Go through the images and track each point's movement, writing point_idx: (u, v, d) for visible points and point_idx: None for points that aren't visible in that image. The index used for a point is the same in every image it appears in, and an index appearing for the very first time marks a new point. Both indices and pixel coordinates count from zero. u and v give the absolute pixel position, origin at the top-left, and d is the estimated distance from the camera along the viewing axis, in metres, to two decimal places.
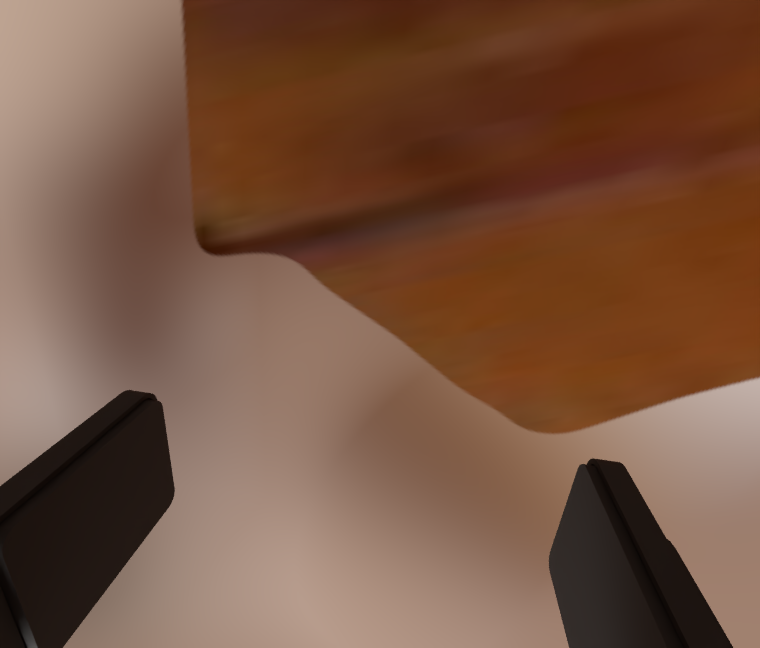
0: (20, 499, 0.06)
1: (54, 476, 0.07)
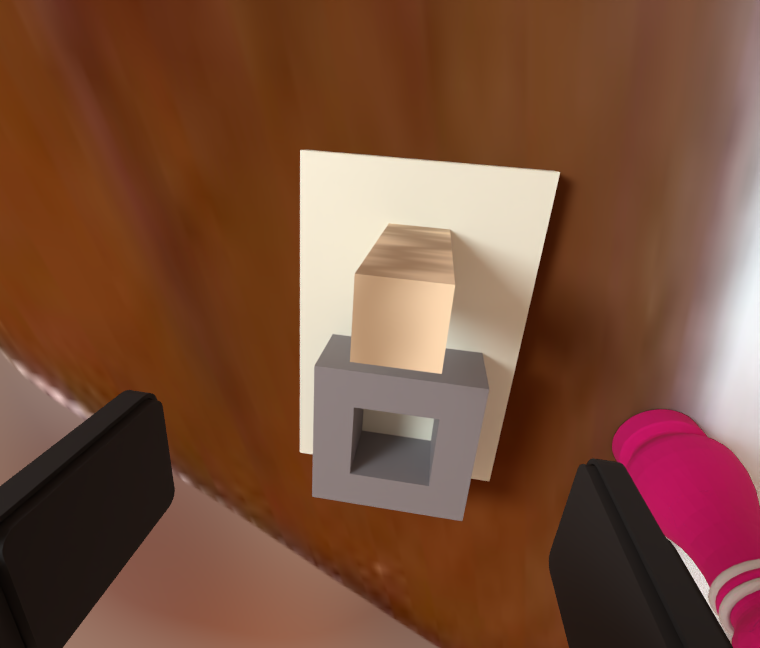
0: (20, 499, 0.06)
1: (54, 476, 0.07)
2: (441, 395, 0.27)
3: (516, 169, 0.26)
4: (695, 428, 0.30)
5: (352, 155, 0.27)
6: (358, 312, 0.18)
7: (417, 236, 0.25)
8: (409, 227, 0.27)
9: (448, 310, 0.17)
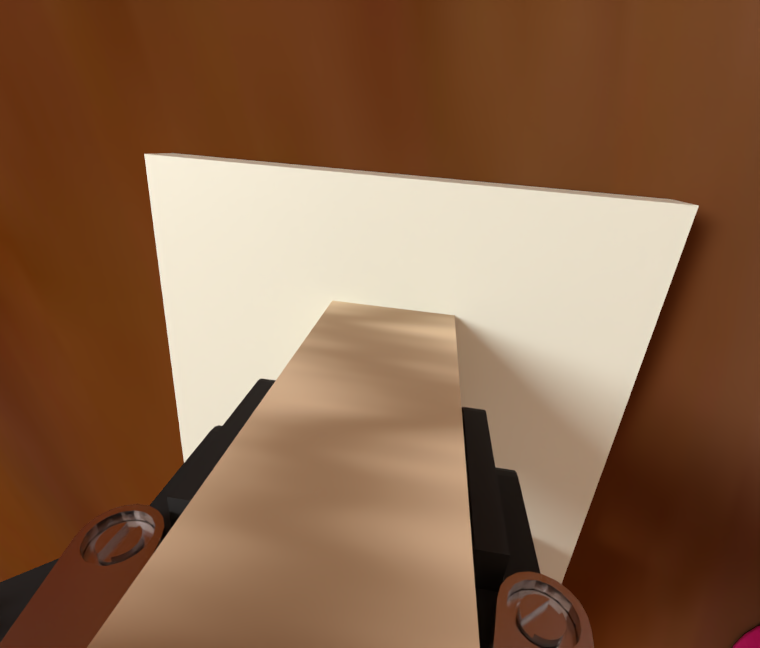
0: None
1: None
2: None
3: (600, 198, 0.12)
4: None
5: (250, 165, 0.13)
6: None
7: (380, 354, 0.11)
8: (371, 314, 0.13)
9: None
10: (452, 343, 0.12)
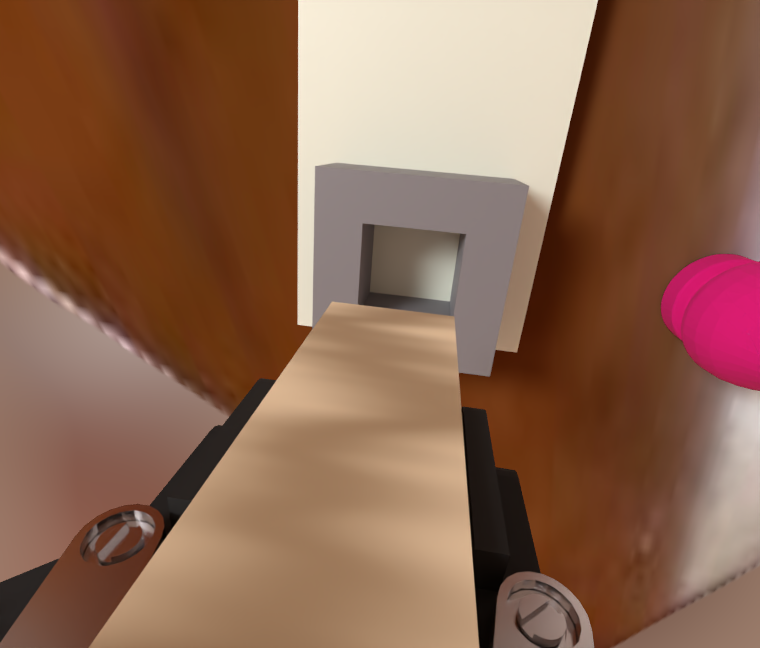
0: None
1: None
2: (469, 198, 0.22)
3: None
4: None
5: None
6: None
7: (380, 356, 0.11)
8: (371, 315, 0.13)
9: None
10: (452, 344, 0.12)
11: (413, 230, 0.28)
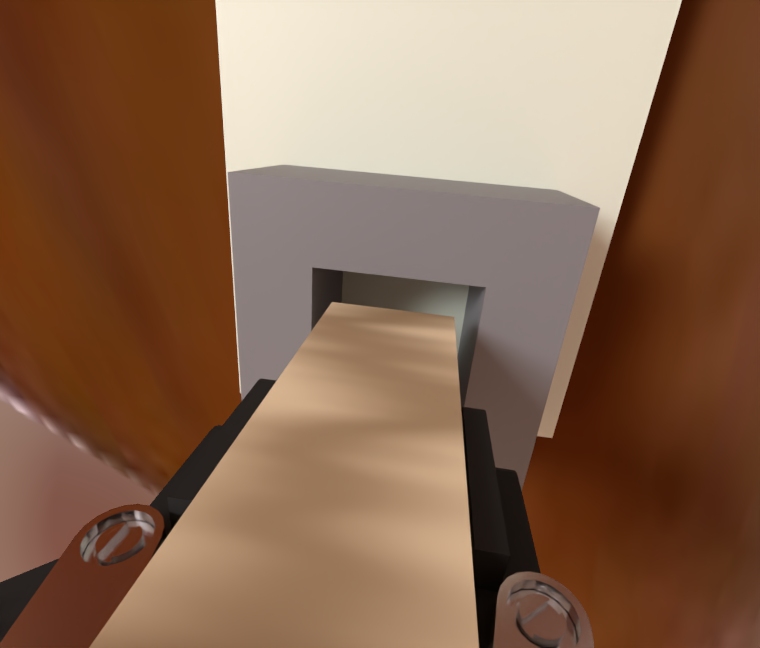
0: None
1: None
2: (493, 229, 0.13)
3: None
4: None
5: None
6: None
7: (380, 356, 0.11)
8: (370, 315, 0.13)
9: None
10: (452, 345, 0.12)
11: None
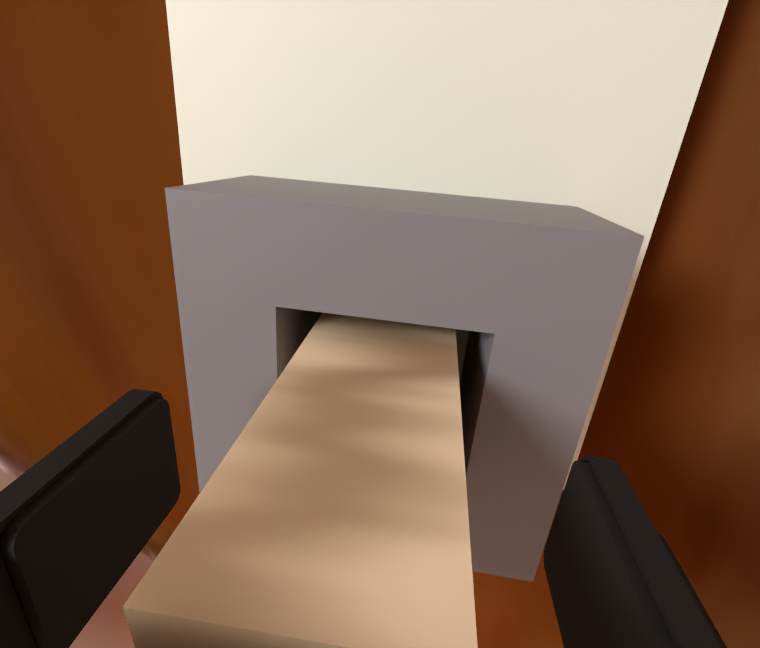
0: (31, 496, 0.06)
1: (63, 474, 0.07)
2: (504, 262, 0.10)
3: None
4: None
5: None
6: None
7: (388, 323, 0.12)
8: None
9: None
10: None
11: None
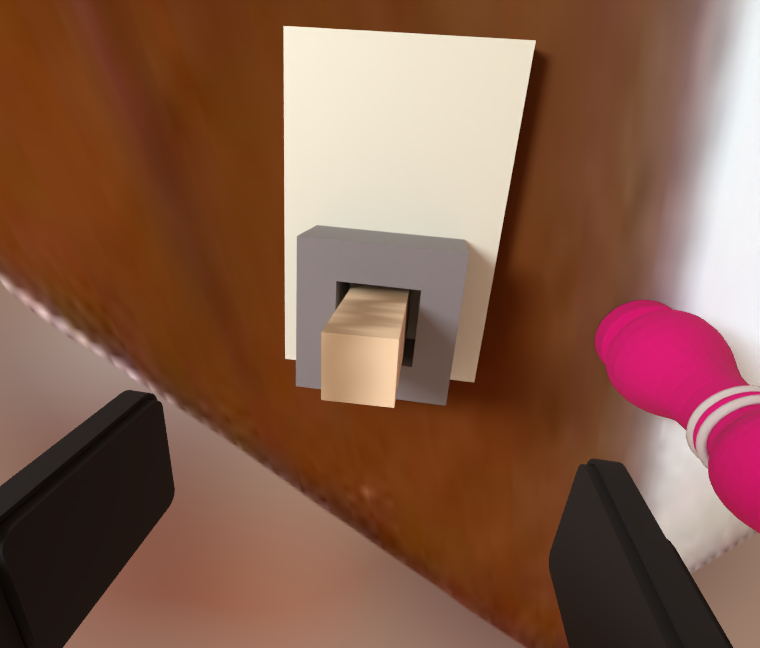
0: (20, 499, 0.06)
1: (54, 476, 0.07)
2: (422, 262, 0.27)
3: (493, 39, 0.27)
4: None
5: (334, 30, 0.27)
6: (325, 361, 0.22)
7: (381, 288, 0.30)
8: None
9: (395, 358, 0.22)
10: None
11: None
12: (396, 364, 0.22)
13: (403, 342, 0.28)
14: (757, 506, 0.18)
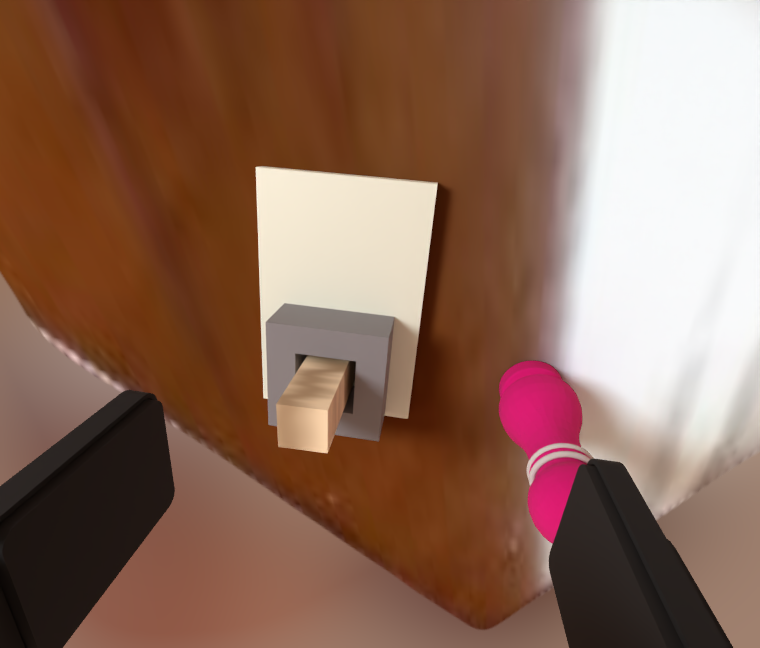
0: (20, 499, 0.06)
1: (54, 476, 0.07)
2: (356, 343, 0.37)
3: (407, 181, 0.36)
4: (552, 373, 0.41)
5: (292, 171, 0.37)
6: (280, 422, 0.33)
7: None
8: None
9: (326, 422, 0.32)
10: None
11: None
12: (327, 425, 0.33)
13: (343, 398, 0.38)
14: (542, 526, 0.28)
